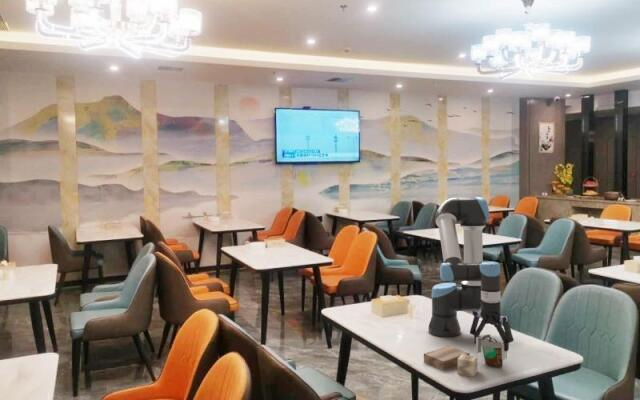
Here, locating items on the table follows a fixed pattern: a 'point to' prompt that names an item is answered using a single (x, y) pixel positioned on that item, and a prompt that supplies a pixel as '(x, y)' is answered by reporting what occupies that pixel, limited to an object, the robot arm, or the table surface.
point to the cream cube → (467, 365)
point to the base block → (444, 357)
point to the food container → (492, 351)
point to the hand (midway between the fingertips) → (491, 355)
